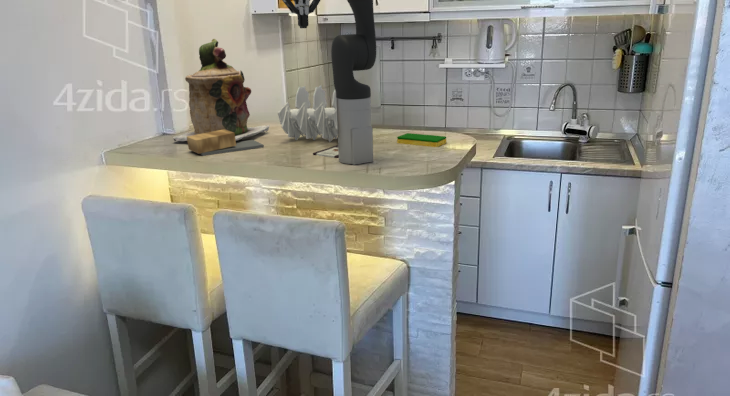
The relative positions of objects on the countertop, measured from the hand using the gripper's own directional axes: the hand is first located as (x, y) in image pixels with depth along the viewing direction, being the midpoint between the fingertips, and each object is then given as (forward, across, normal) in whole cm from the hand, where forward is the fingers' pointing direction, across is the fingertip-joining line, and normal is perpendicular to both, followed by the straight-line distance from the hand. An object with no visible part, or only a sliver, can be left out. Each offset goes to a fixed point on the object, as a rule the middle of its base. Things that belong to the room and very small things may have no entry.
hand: (303, 28), depth 165 cm
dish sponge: (+36, -28, +22) cm, 50 cm away
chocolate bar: (+36, -3, +17) cm, 40 cm away
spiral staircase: (+35, -5, 0) cm, 36 cm away
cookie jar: (+35, +21, -25) cm, 48 cm away
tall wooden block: (+32, +24, -7) cm, 40 cm away
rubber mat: (+35, +24, -7) cm, 43 cm away
